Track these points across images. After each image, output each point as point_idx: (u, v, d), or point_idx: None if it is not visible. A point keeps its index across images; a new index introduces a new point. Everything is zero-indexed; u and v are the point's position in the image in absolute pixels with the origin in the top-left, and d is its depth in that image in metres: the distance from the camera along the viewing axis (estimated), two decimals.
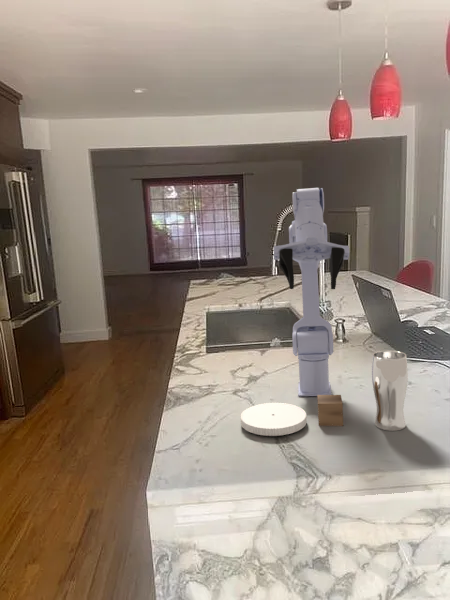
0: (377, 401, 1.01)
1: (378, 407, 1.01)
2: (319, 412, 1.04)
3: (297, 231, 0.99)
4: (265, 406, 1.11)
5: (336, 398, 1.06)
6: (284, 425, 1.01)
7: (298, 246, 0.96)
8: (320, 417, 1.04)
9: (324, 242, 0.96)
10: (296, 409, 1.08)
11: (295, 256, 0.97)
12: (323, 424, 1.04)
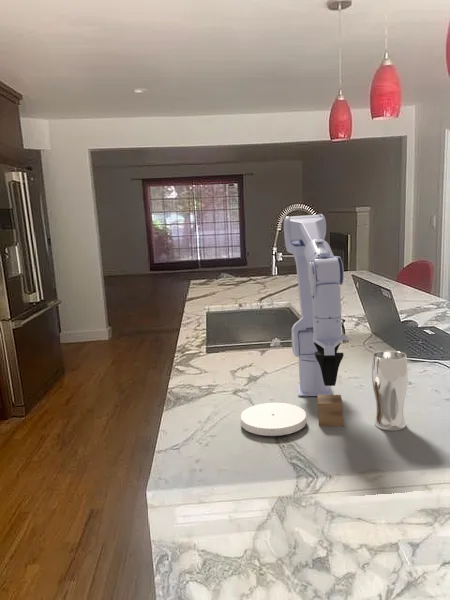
0: (377, 401, 1.01)
1: (378, 407, 1.01)
2: (319, 412, 1.04)
3: (333, 322, 1.00)
4: (265, 406, 1.11)
5: (336, 398, 1.06)
6: (284, 425, 1.01)
7: None
8: (320, 417, 1.04)
9: None
10: (296, 409, 1.08)
11: None
12: (323, 424, 1.04)
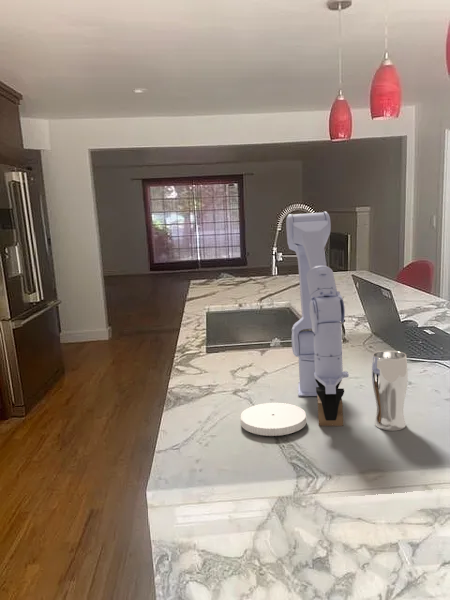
0: (377, 401, 1.01)
1: (378, 407, 1.01)
2: (319, 411, 1.04)
3: (334, 359, 1.02)
4: (265, 406, 1.11)
5: None
6: (284, 425, 1.01)
7: None
8: (320, 416, 1.04)
9: None
10: (296, 409, 1.08)
11: None
12: (323, 424, 1.04)
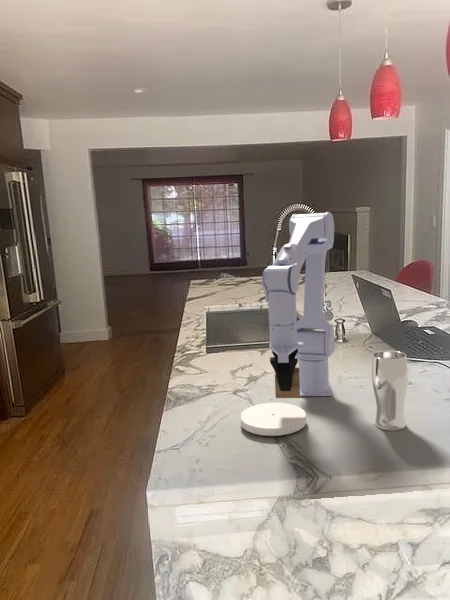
0: (377, 401, 1.01)
1: (378, 407, 1.01)
2: (276, 384, 1.03)
3: (288, 329, 1.00)
4: (265, 406, 1.11)
5: (294, 370, 1.05)
6: (284, 425, 1.01)
7: None
8: (277, 389, 1.03)
9: None
10: (296, 409, 1.08)
11: None
12: (280, 396, 1.03)
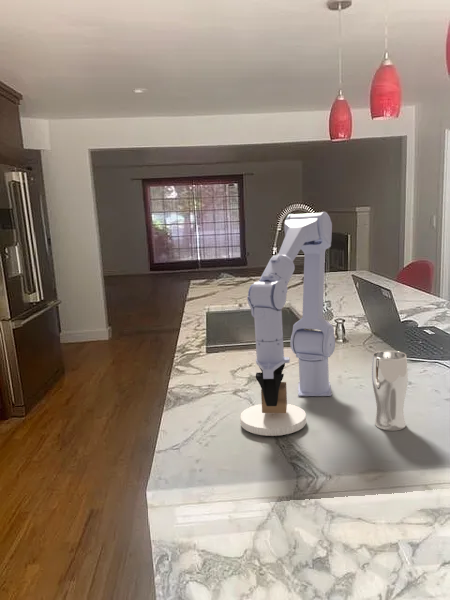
0: (377, 401, 1.01)
1: (378, 407, 1.01)
2: (262, 399, 1.03)
3: (274, 344, 1.01)
4: None
5: (281, 385, 1.05)
6: (284, 425, 1.01)
7: None
8: (263, 404, 1.04)
9: None
10: (296, 409, 1.08)
11: None
12: (266, 411, 1.04)
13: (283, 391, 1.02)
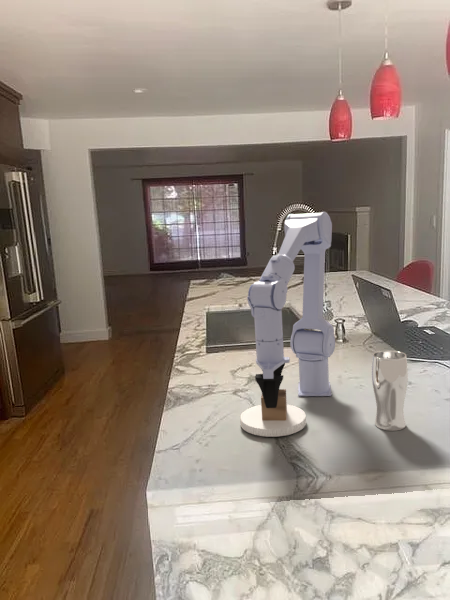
0: (377, 401, 1.01)
1: (378, 407, 1.01)
2: (262, 406, 1.04)
3: (274, 344, 1.01)
4: None
5: (281, 392, 1.06)
6: (284, 426, 1.01)
7: None
8: (263, 411, 1.04)
9: None
10: (296, 410, 1.08)
11: None
12: (266, 418, 1.04)
13: (283, 399, 1.03)
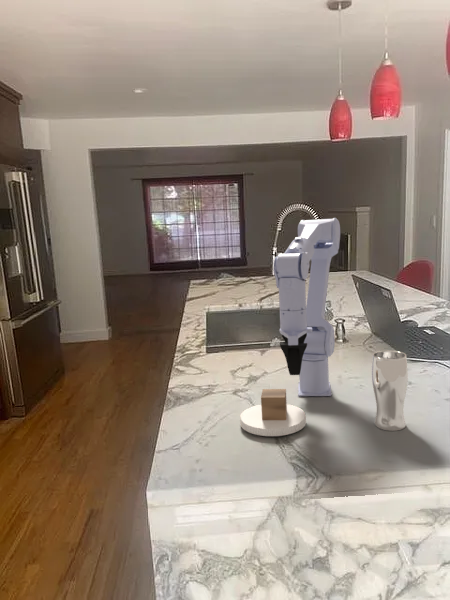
0: (377, 401, 1.01)
1: (378, 407, 1.01)
2: (262, 406, 1.04)
3: (298, 314, 1.05)
4: None
5: (281, 392, 1.06)
6: (284, 425, 1.01)
7: None
8: (263, 411, 1.04)
9: None
10: (295, 409, 1.08)
11: None
12: (266, 418, 1.04)
13: (283, 398, 1.03)
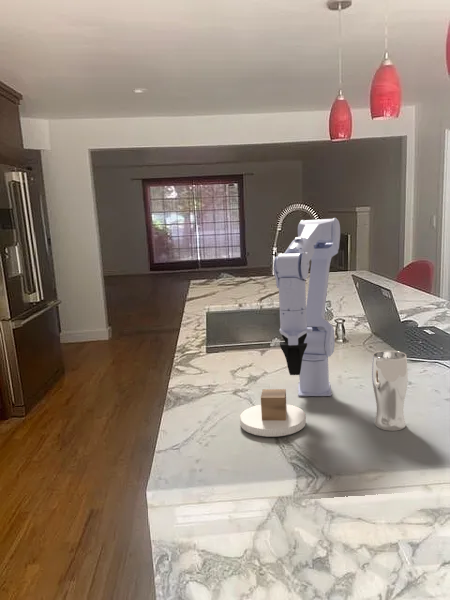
0: (377, 401, 1.01)
1: (378, 407, 1.01)
2: (262, 406, 1.04)
3: (298, 313, 1.05)
4: None
5: (280, 392, 1.06)
6: (284, 426, 1.01)
7: None
8: (263, 411, 1.04)
9: None
10: (295, 410, 1.08)
11: None
12: (266, 418, 1.04)
13: (283, 398, 1.03)
